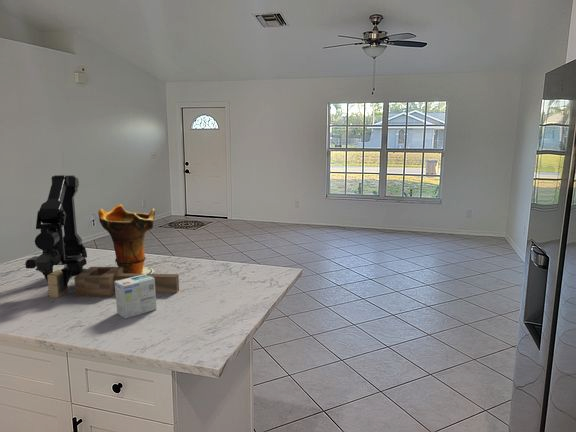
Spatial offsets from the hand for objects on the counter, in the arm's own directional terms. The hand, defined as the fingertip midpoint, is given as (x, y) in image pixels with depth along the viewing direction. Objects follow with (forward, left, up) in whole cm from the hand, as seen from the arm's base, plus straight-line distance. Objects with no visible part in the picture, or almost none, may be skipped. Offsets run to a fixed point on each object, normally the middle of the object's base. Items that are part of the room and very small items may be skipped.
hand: (58, 285), depth 149 cm
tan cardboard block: (0, 0, -3) cm, 3 cm away
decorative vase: (-24, +16, -3) cm, 29 cm away
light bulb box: (+14, +33, -3) cm, 36 cm away
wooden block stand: (-4, +24, -3) cm, 25 cm away
